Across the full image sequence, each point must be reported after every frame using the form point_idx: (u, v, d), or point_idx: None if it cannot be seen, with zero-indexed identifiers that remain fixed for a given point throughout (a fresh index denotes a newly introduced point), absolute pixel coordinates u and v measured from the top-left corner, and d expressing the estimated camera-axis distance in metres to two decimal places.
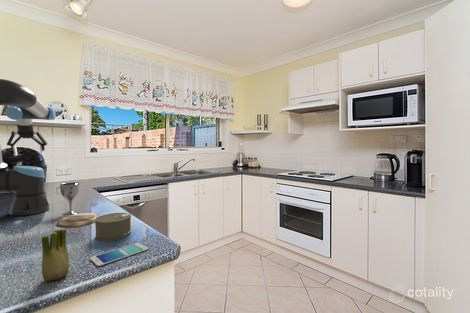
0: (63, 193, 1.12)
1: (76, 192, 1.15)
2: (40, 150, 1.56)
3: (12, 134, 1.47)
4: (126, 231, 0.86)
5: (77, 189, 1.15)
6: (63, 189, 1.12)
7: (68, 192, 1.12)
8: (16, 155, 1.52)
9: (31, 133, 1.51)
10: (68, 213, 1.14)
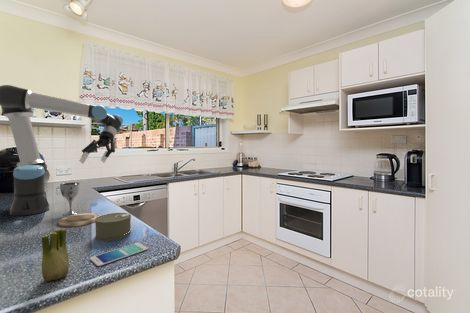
0: (63, 193, 1.12)
1: (76, 192, 1.15)
2: None
3: (92, 142, 1.39)
4: (126, 231, 0.86)
5: (77, 189, 1.15)
6: (62, 189, 1.12)
7: (68, 192, 1.12)
8: (81, 161, 1.30)
9: (107, 140, 1.38)
10: (68, 213, 1.14)
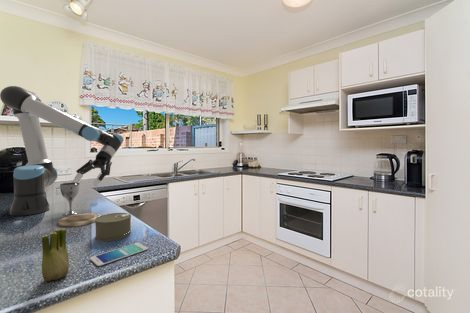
0: (63, 193, 1.12)
1: (76, 192, 1.15)
2: None
3: (88, 161, 1.32)
4: (126, 231, 0.86)
5: (77, 189, 1.15)
6: (63, 189, 1.12)
7: (68, 192, 1.12)
8: None
9: (103, 161, 1.30)
10: (68, 213, 1.14)
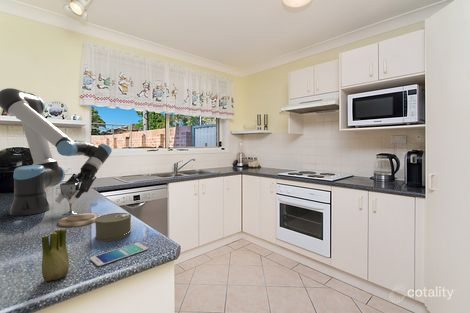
0: (63, 193, 1.12)
1: None
2: (73, 195, 1.13)
3: (72, 176, 1.23)
4: (126, 231, 0.86)
5: (77, 189, 1.15)
6: (62, 189, 1.12)
7: (68, 192, 1.12)
8: (56, 201, 1.13)
9: (88, 174, 1.22)
10: (68, 213, 1.14)
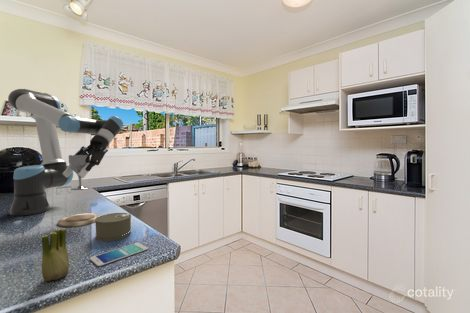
0: (72, 165, 1.00)
1: None
2: (83, 167, 1.01)
3: (81, 149, 1.11)
4: (126, 231, 0.86)
5: (87, 161, 1.03)
6: (71, 160, 0.99)
7: (77, 164, 1.00)
8: (64, 174, 1.01)
9: (99, 146, 1.10)
10: (78, 188, 1.02)
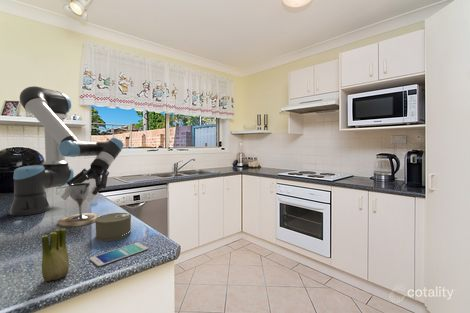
0: (72, 195, 1.00)
1: (86, 194, 1.03)
2: (90, 191, 1.01)
3: (81, 171, 1.12)
4: (126, 231, 0.86)
5: (87, 190, 1.03)
6: (71, 190, 1.00)
7: (77, 194, 1.00)
8: (62, 197, 1.03)
9: (99, 170, 1.10)
10: (78, 217, 1.02)
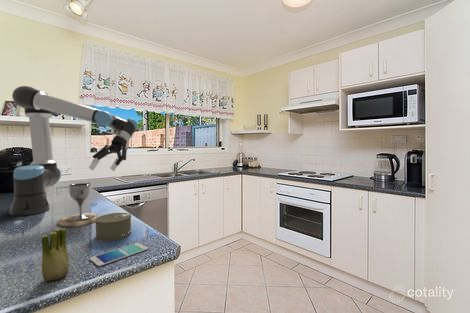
0: (72, 195, 1.00)
1: (87, 194, 1.03)
2: None
3: (104, 147, 1.31)
4: (126, 231, 0.86)
5: (88, 190, 1.03)
6: (72, 190, 1.00)
7: (78, 194, 1.00)
8: (90, 168, 1.22)
9: (119, 146, 1.29)
10: (78, 217, 1.02)
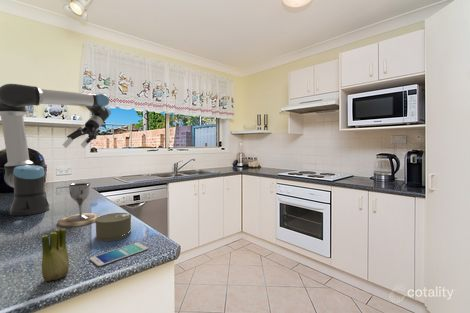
0: (72, 195, 1.00)
1: (87, 194, 1.03)
2: (84, 140, 1.38)
3: (78, 129, 1.49)
4: (126, 231, 0.86)
5: (88, 190, 1.03)
6: (72, 190, 1.00)
7: (78, 193, 1.00)
8: (64, 145, 1.40)
9: (91, 128, 1.47)
10: (78, 217, 1.02)
